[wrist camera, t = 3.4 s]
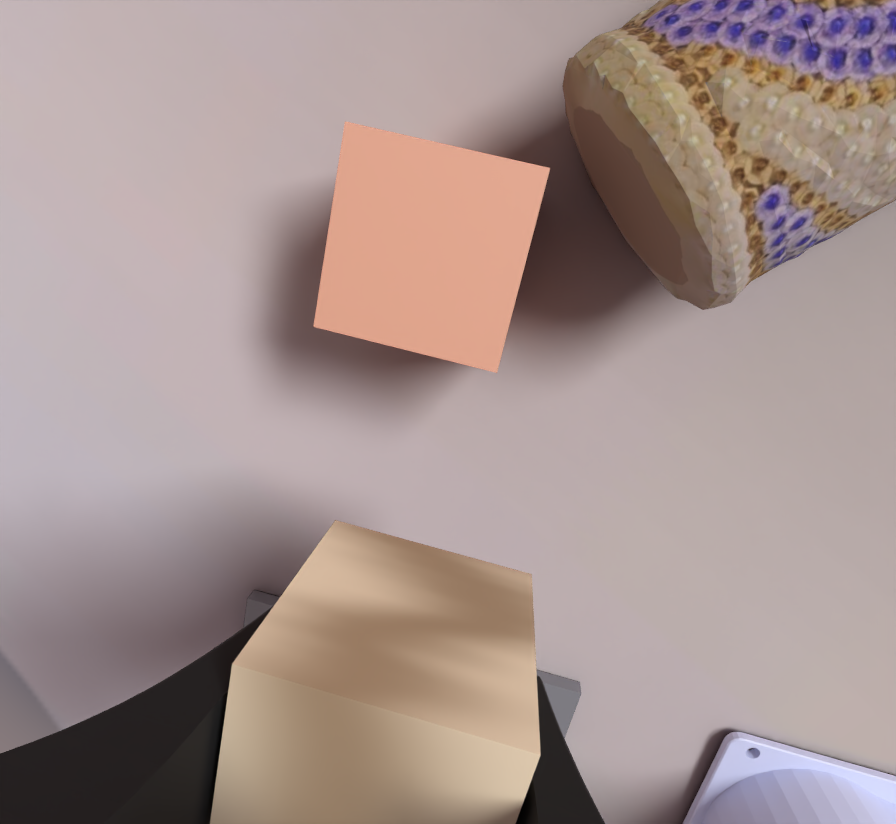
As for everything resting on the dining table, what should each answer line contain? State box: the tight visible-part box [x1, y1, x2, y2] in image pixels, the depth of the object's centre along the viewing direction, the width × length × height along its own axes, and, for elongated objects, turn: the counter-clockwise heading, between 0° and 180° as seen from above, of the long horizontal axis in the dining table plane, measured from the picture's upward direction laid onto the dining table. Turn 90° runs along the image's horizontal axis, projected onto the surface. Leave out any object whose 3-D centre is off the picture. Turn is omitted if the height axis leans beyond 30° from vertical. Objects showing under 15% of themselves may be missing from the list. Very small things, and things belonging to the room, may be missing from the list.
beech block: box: [210, 520, 541, 824], centre depth 11 cm, size 5×5×5 cm
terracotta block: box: [313, 122, 550, 373], centre depth 16 cm, size 5×5×5 cm
